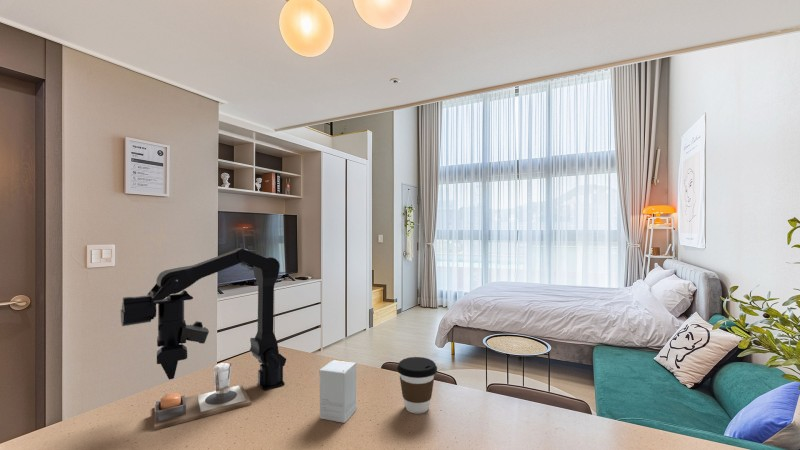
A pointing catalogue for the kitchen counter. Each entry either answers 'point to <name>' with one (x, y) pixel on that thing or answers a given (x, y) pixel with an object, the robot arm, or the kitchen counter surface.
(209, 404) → the board
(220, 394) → the milkshake
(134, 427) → the kitchen counter surface
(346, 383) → the supplement box
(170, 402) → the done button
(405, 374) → the coffee cup
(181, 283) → the robot arm
